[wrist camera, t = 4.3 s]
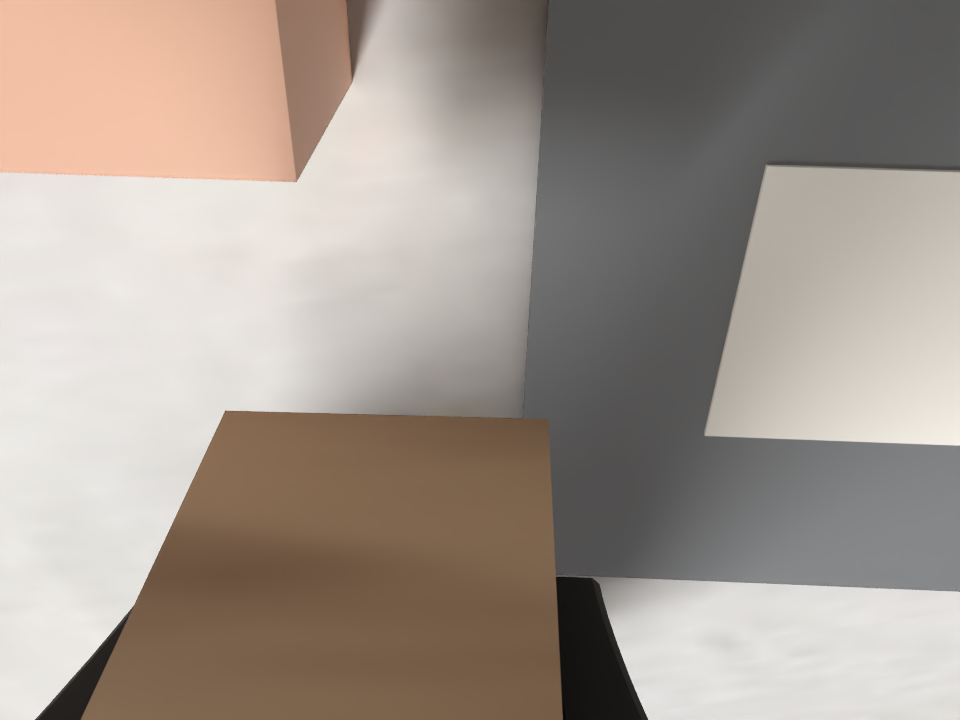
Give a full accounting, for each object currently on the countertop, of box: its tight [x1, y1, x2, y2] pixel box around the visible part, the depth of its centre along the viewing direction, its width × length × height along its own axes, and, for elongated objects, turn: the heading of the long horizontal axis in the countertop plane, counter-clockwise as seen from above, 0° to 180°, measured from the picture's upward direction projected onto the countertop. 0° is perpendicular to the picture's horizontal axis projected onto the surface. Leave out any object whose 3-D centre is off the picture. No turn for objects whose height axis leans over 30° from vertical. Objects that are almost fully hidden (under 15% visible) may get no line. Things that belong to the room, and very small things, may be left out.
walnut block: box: [81, 411, 563, 720], centre depth 11 cm, size 4×4×5 cm
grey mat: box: [523, 0, 960, 592], centre depth 18 cm, size 18×16×1 cm
